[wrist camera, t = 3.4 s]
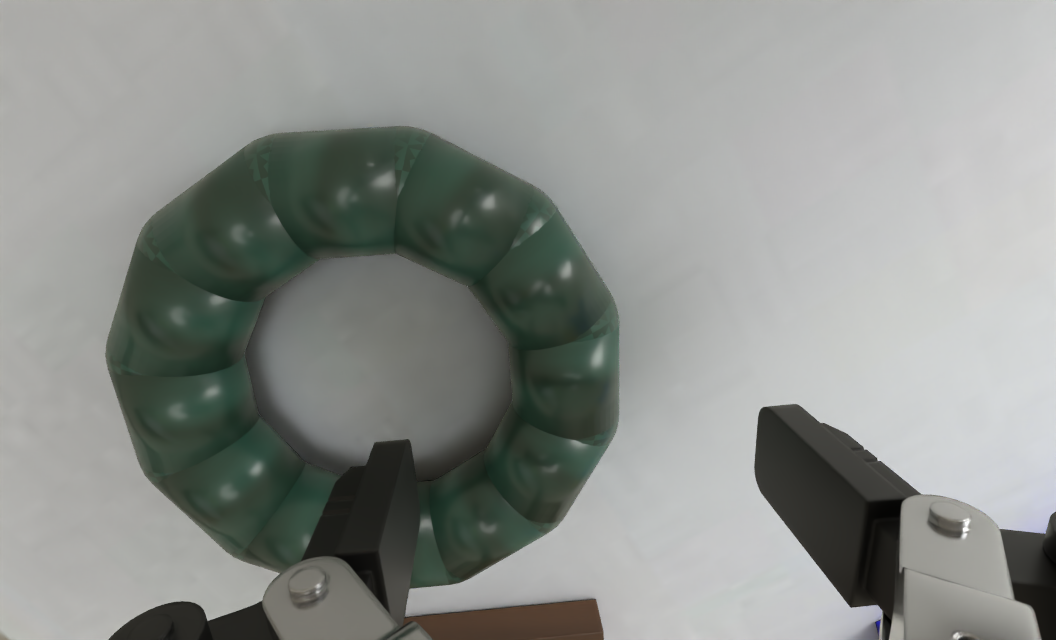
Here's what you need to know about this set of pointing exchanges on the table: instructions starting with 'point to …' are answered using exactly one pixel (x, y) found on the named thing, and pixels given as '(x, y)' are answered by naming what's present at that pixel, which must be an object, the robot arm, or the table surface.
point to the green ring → (346, 231)
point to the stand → (518, 623)
